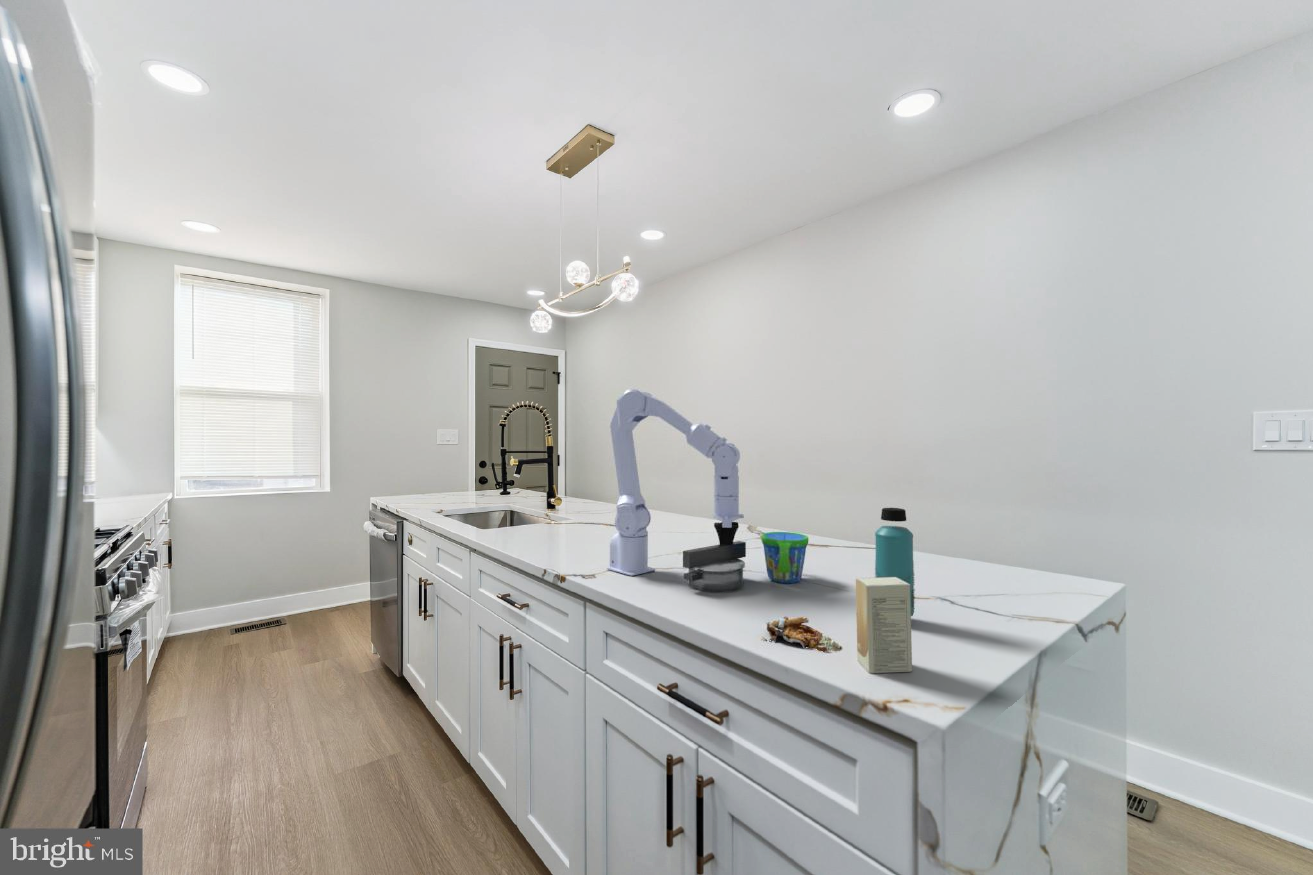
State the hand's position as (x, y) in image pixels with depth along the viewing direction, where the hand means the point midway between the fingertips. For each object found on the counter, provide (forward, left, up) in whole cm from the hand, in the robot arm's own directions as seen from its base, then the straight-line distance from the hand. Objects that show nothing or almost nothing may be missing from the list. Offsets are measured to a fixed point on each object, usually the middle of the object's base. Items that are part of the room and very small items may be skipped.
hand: (726, 554), depth 124 cm
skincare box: (+46, -22, -6) cm, 51 cm away
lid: (+2, -6, -1) cm, 7 cm away
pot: (+2, -6, -6) cm, 9 cm away
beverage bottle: (+39, -1, -6) cm, 39 cm away
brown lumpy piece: (+33, -21, -6) cm, 40 cm away
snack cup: (+10, +9, -6) cm, 15 cm away
